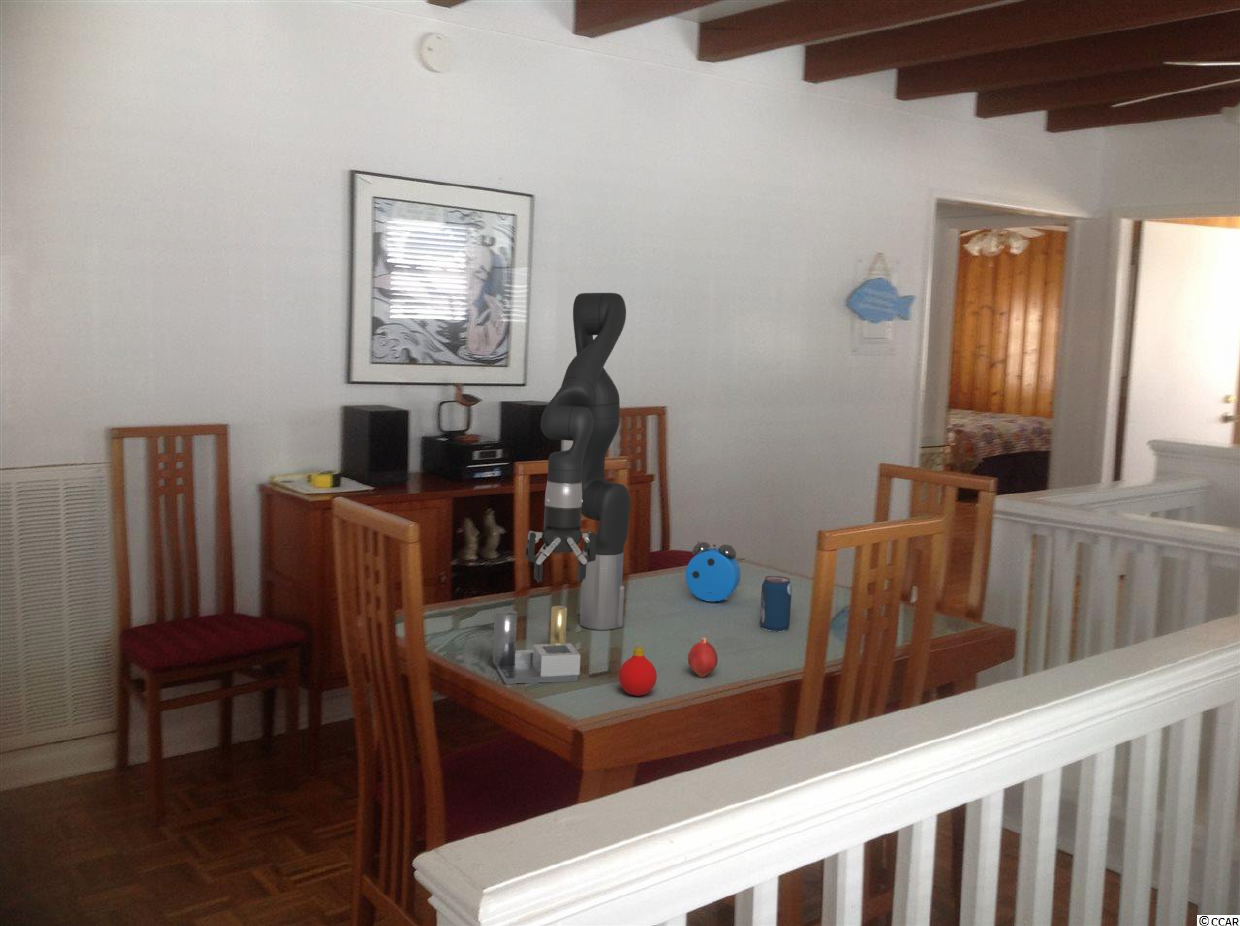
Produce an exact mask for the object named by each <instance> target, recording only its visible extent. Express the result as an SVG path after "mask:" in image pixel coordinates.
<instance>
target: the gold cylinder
mask: <svg viewBox="0 0 1240 926" xmlns="http://www.w3.org/2000/svg"><path fill="white" fill-rule="evenodd" d="M550 611H551V613H550V616H551V617H550V635H549V636H550V637H549V644H563V643H567V642H566V641H567V621H568V620H567V617H568V607H567V606H564V605H554V606H553V605H552V607H551V610H550Z"/></svg>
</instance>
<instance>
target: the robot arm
mask: <svg viewBox="0 0 1240 926" xmlns="http://www.w3.org/2000/svg"><path fill="white" fill-rule="evenodd" d="M572 306H573V307H572V322H573V324H572V325H573V331H574V332H573V333H574V343H575V349H576V350H575V351H576V355H575V357H573V359H572V360H571V362H570V363H569V364H568V366H567V369H566V371H565V374H564V377H563V380H562V383H561V385H560V388H559V389H558V391H557V392H556V393H555V395H554V396H553V397H552V399H551V400H550V401H549V402H548V404H547V405H546V407H545V408H544V411H543V412H542V415H541V419H540V429H541V432H542V434H543V435H544V436H545V437H546V438H548V439H549V440H557V441H559V440H560V441H572V444H571V447H570V448H569V449H567V450H559V451H554V452H551V453H550V454H549V456H548V462H547V482H546V487H545V495H544V496H545V497H544V514H543V515H544V516H543V517H544V518H543V528H542V531H539V532H538V531H533V530H529V531H527V538H526V546H525V547H526V548H525V554H524V555H525V559H526V560H527V561H528V562H531V563H533V564H534V565H533V566H534V567H533V578H534V580H536V582H537V583H539V584H541V583H543V573H544V572H543V570H544V568H543V567H544V565H543V562H544V561H545V560H546V558H548V557H549V556H550V554H552V553H554V554H561V553H563V554H570V553H571V552H572V553H573V555H574V556H575V557H576V558H577V560H578V562H577V567H576V568H577V569H576V571H577V573H576V581H577V582H578V583H581V585H580V586H581V589H580V590H581V591H580V593H581V594H580V608H579V609H580V613H579V625H580V626H581V627H583V628H585V629H589V630H598V631H599V630H600V631H605V630H606V631H607V630H613V629H614V630H615V629H618V628H623V627H624V626H623V625H624V623H623V622H624V606H625V585H623V571H624V569H623V568H624V567H623V566H624V550H625V549H624V548H625V545H626V542H627V539H628V532H629V524H630V523H629V522H630V514H631V513H630V512H631V496H630V493H629V490H628V488H627V487H626V486H625V485H624V484H621V483H617V482H614V481H609V480H608V481H607V480H606V475H605V467H606V466H605V465H606V457H607V453H608V451H609V449H610V447H611V444H612V443H613V441H614V439H615V436H616V435H617V433H618V430H619V427H620V423H621V413H620V412H621V409H620V408H621V407H620V406H621V405H620V404H621V403H620V394H619V391H618V388H617V386H616V384H615V383H614V381H613V380H612V378H611V376H610V375H609V373H608V371H607V370H606V369H605V368H604V367H605V364H606V363H607V360H608V359H609V357H610V355H611V354H612V352H613V350H614V348H615V346H616V344H617V342H618V340H619V338H620V336H621V334H622V332H623V330H624V327H625V323H626V319H627V318H626V317H627V306H626V302H625V298H624V297H623V296H622V295H621V294H619V293H617V292H616V293H615V292H582V293H578V294H577V295H575V298H574V300H573V305H572ZM594 336H596V337H594ZM582 516H583V517H585V518H586V519H588V520H593V521H598V522H599V523H598V530H597V532H594V531H592V530H588V531H587V532H583V531H582V529H581V527H582ZM540 539H542V541H543V542H544V544H543V545H542V546H541V548H540V549H539V551H538V553H537V554H536V555H535V549H536V547H535V546H536V544H537V543H538V542H539V541H540ZM581 540H583V543H582V544H583V545H582V551H581V549H580V547H579V546H578V545H579V543H581Z"/></svg>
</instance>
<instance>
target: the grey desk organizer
mask: <svg viewBox="0 0 1240 926" xmlns="http://www.w3.org/2000/svg"><path fill="white" fill-rule="evenodd" d="M493 621H494V622H493V623H494V624H493V647H492V648H493V649H492V650H493V651H492V654H493V655H492V663H493V664H494V667H495V669H496V671H497V672H498V674H499V675H500V678H501V680H503V682H504V684H505V683H506V684H511V683H515V684H514V685H517V684H516V683H532V682H533V683H532V684H537V683H536V682H552V683H569V682H579V676H580V670H581V669H580V668H581V654H580V652H579V651H578V650H577V649H576V648H575V646H574V645H573V644H572V643H571V642H566V643H563V644H550V643H541V644H539V643H538V644H532V649H520V650H519V649H517V632H518V631H517V626H518V623H517V621H518V612H517V611H516V610H512V609H498V610H495V611H494V620H493ZM506 684H505V685H506Z"/></svg>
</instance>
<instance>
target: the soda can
mask: <svg viewBox="0 0 1240 926" xmlns="http://www.w3.org/2000/svg"><path fill="white" fill-rule="evenodd" d="M792 591H793V585H792V583H791V579H790V578H789V577H786V576H783V575H782V576H781V575H780V576H779V575H768V576H765V577H764V581H763V583H762V584H761V597H760V609H759V611H760V612H759V625H760V627H761V629H762V628H764V629H767V630H771V631H783V630H786V629H788V628H789V626H790V621H791V608H792V607H791V606H792V595H793V594H792V593H793V592H792ZM764 629H763V630H764ZM786 631H787V630H786Z"/></svg>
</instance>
